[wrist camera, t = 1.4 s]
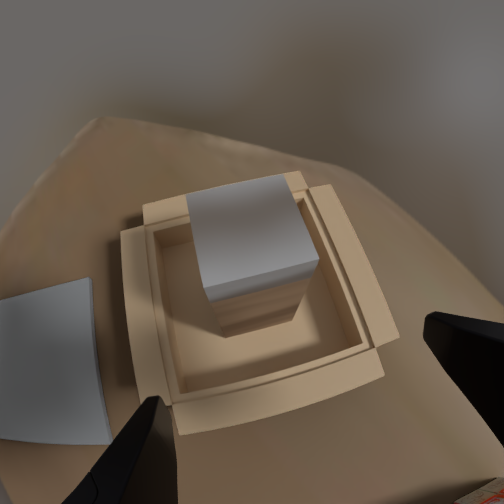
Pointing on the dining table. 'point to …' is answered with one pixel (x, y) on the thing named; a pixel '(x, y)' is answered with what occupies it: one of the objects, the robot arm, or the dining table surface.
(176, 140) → the dining table surface
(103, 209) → the dining table surface
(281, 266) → the grey rectangular block
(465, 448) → the dining table surface
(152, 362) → the carton
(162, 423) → the robot arm
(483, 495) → the stack of blocks
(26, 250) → the dining table surface
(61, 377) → the rubber mat
